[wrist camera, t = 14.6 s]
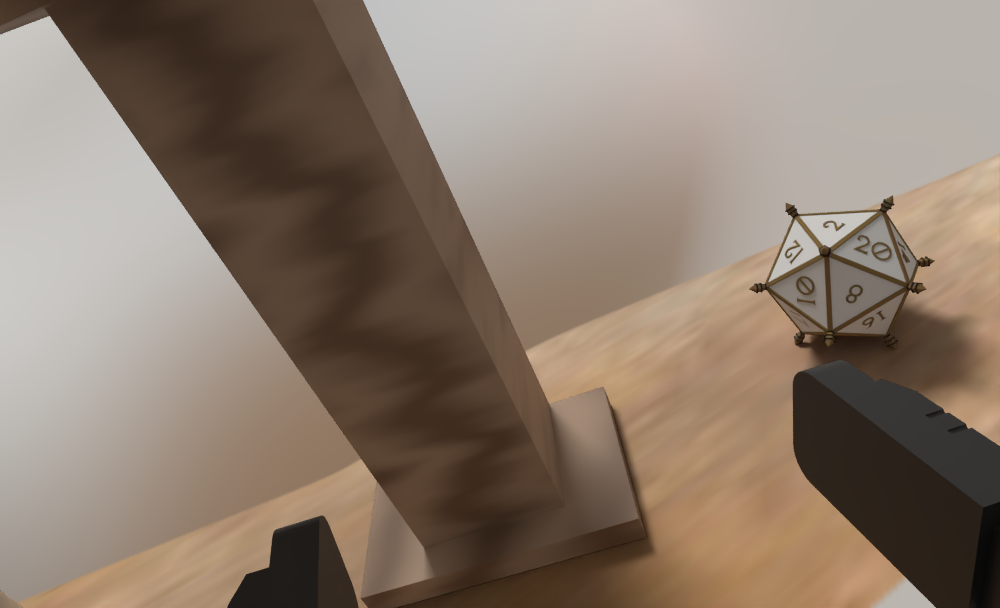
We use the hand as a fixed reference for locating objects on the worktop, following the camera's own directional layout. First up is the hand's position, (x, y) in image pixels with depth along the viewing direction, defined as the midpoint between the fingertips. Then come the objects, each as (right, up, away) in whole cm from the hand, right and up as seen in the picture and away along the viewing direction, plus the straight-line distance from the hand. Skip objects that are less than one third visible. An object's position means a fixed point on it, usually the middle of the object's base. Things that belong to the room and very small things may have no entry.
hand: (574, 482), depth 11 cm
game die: (+19, +1, +29) cm, 35 cm away
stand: (-1, -8, +28) cm, 30 cm away
